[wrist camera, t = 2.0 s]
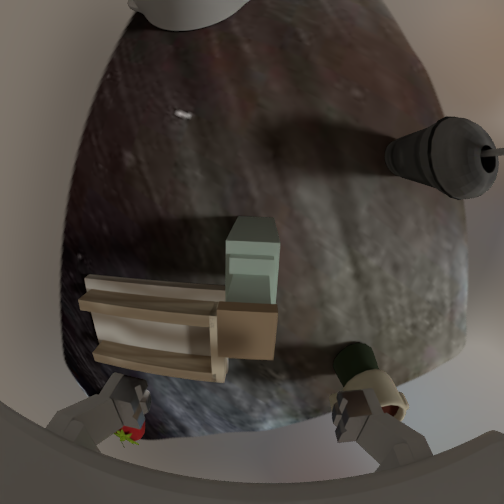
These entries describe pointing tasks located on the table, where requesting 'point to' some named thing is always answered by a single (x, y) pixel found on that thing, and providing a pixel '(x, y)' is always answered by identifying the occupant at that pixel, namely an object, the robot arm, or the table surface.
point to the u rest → (156, 326)
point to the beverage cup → (447, 158)
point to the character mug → (368, 379)
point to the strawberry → (130, 433)
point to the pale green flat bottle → (249, 290)
